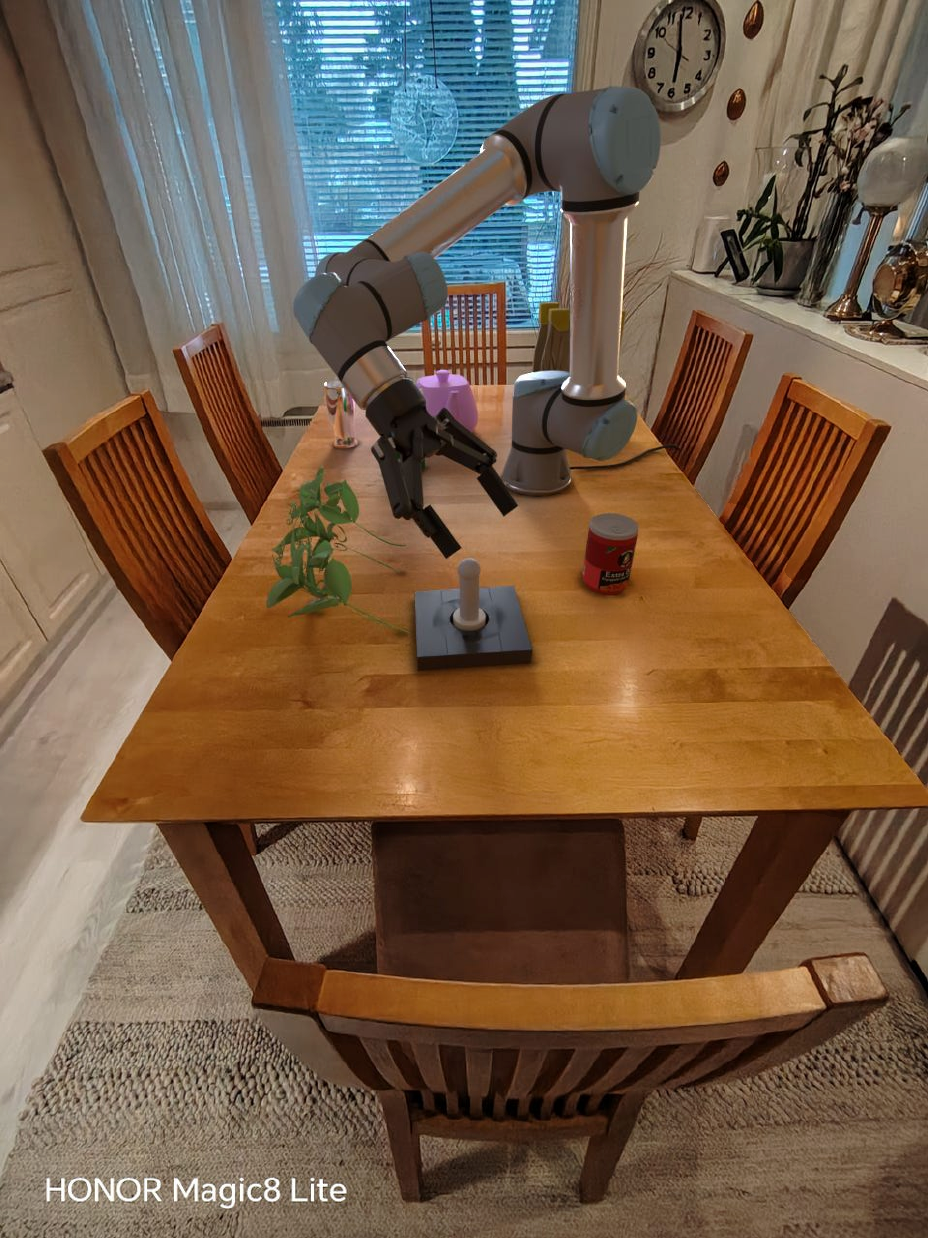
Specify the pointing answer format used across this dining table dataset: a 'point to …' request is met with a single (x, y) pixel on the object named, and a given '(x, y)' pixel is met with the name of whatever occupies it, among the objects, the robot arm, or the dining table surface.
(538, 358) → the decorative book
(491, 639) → the plate
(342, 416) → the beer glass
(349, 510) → the plant cuttings
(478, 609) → the white peg with base
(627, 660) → the dining table surface
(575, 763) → the dining table surface
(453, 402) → the teapot
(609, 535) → the canned food
